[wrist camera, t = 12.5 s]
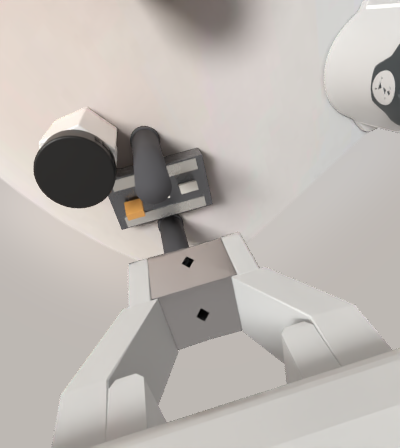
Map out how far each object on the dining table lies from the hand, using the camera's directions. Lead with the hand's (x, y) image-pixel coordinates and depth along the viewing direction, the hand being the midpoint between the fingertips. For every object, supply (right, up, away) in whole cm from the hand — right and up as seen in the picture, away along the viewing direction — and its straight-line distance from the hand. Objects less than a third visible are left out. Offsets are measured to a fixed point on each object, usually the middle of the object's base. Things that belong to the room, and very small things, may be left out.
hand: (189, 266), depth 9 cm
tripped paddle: (-9, +4, +38) cm, 39 cm away
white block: (-2, +7, +39) cm, 39 cm away
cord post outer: (-5, +1, +45) cm, 45 cm away
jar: (-15, +12, +36) cm, 41 cm away
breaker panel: (-6, +7, +41) cm, 42 cm away
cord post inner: (-7, +13, +37) cm, 40 cm away
